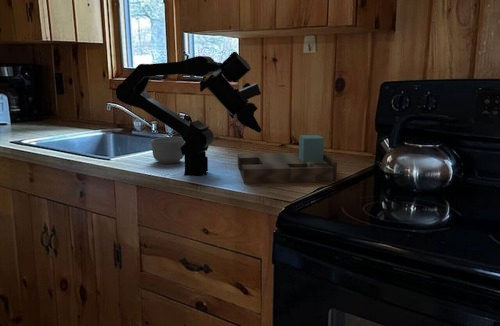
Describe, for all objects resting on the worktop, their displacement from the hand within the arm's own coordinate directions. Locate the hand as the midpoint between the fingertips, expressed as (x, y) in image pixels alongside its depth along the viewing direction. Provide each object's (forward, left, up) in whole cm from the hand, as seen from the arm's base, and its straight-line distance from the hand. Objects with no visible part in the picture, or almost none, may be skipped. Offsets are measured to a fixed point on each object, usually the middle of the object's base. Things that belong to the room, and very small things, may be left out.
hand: (260, 131), depth 138 cm
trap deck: (+7, -1, -13) cm, 14 cm away
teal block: (+15, -1, -9) cm, 18 cm away
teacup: (-28, +20, -13) cm, 37 cm away
